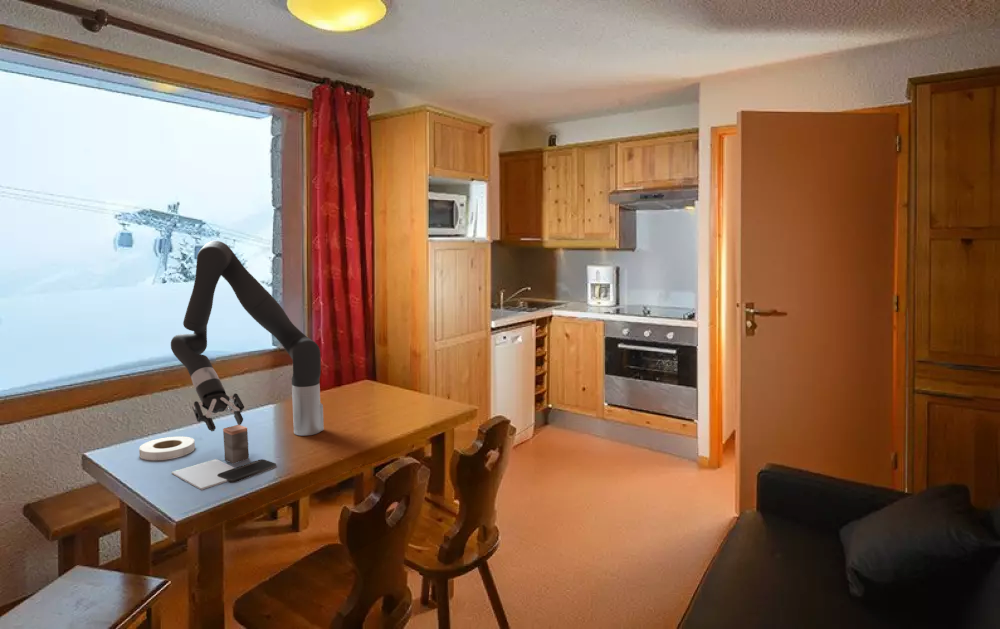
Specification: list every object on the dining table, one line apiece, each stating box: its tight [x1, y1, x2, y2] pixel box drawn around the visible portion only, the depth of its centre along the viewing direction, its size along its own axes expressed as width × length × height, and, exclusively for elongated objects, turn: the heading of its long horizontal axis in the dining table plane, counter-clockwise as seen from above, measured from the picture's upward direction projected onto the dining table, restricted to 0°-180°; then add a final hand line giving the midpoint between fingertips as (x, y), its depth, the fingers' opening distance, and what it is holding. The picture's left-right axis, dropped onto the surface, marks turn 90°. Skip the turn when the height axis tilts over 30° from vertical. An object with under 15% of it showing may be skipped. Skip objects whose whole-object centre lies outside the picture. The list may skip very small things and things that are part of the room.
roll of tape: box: [138, 435, 196, 461], centre depth 192 cm, size 16×15×3 cm
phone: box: [217, 458, 277, 484], centre depth 176 cm, size 8×1×15 cm
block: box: [222, 424, 250, 465], centre depth 185 cm, size 5×5×10 cm
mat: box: [171, 458, 235, 491], centre depth 174 cm, size 13×18×1 cm
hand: (227, 426), depth 187 cm, fingers open, 8 cm apart
